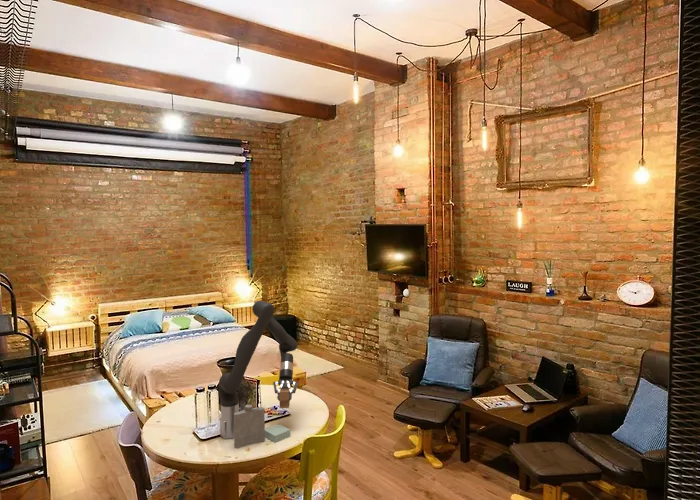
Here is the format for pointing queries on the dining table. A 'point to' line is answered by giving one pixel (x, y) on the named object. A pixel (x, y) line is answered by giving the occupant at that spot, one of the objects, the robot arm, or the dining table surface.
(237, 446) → the hip flask
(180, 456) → the dining table surface
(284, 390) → the walnut block
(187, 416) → the dining table surface
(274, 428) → the plinth block
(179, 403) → the dining table surface
